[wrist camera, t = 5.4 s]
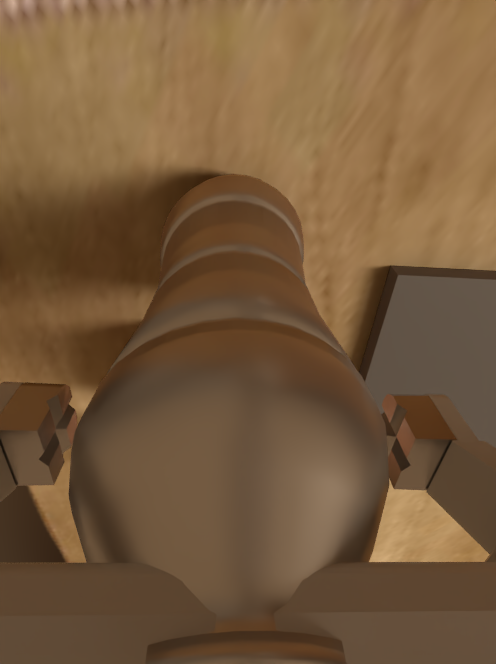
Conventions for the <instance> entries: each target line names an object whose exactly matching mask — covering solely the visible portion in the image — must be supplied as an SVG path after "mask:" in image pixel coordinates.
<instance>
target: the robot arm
mask: <svg viewBox="0 0 496 664" xmlns="http://www.w3.org/2000/svg"><path fill="white" fill-rule="evenodd" d="M71 398H72V394H71V390H70V387H69V386H68V385H66V384H47V383H28V382H25V383H21V382H3V383H1V384H0V502H1V501H2V500H3V499H4V498H5V497H6V496H8V495H9V494H10V493H11V492H12V491H13V490H14V489H16V485H54V484H55V482H56V479H57V477H58V475H59V473H60V470H61V468H62V466H63V464H64V458H63V454H62V453H63V452H65V451H66V450H68V449H69V448H70V447H71V446H72V443H73V439H74V433H75V431H76V429H77V416H76V411H75V409H74V408H72V407H71V406H70V405H69V402H70V400H71ZM382 407H383V409H384V411H385V412H384V413H383V414H381V415H382V418H383V420H384V422H385V425H386V435H387V446H388V467H389V478H390V481H391V483H392V486H393V488H394V489H408V490H427V493H428V494H429V495H430V496H431V497H432V498H433V499H434V500H435V501H436V502H437V503H438V504H439V505H440V506H441V507H442V508H443V509H444V510H445V511H446V512H447V513H448V514H449V515H450V516H451V517H452V518H453V519H454V520H455V521H456V522H457V523H458V524H460V525H461V526H462V527H463V528H464V529H465V530H466V531H467V532H468V533H469V534H470V535H471V536H472V537H473V538H474V539H475V540H476V541H477V542H478V543H479V544H480V545H481V546H482V547H483V548H484V549H485V550H486V551H487V552H488V553H489V554H490V555H489V556H488V558H487V559H486V560H485V562H339V563H335V564H332V565H330V566H327V567H324V568H322V569H320V570H318V571H316V572H315V573H313V574H312V575H310V576H309V577H308V578H306V579H304V580H302V582H301V583H300V585H299V586H298V588H297V589H296V591H295V592H294V594H293V595H292V597H291V598H290V600H289V601H288V603H287V604H286V605H284V606H283V607H282V608H280V609H279V610H277V611H276V612H275V613H274V620H275V625H276V630H279V631H283V632H296V633H306V634H312V635H317V636H323V637H329V638H333V639H336V640H339V641H342V645H343V649H344V654H345V659H346V663H347V664H496V448H495V447H493V446H492V445H490V444H489V443H487V442H485V441H479V440H478V439H477V437H476V436H475V435H474V433H473V432H472V430H471V429H470V427H469V426H468V425H467V423H466V422H465V420H464V419H463V417H462V416H461V415H460V413H459V412H458V410H457V409H456V407H455V406H454V405H453V403H452V402H451V400H450V399H449V398H448V397H447V396H445V395H437V394H425V395H414V394H387V395H386V397H385V398H384V400H383V403H382ZM216 616H217V615H216V614H215V613H213V612H211V611H209V610H208V609H207V608H206V607H205V606H204V605H203V604H202V602H201V601H200V600H199V599H198V598H197V597H196V596H195V595H194V594H193V593H192V592H191V591H190V590H189V589H188V588H187V587H186V586H185V585H184V583H183V581H181V580H180V579H178V578H176V577H175V576H173V575H171V574H169V573H167V572H165V571H163V570H160V569H157V568H155V567H153V566H150V565H147V564H141V563H0V664H145V661H146V653H147V646H148V645H150V644H154V643H158V642H161V641H165V640H169V639H175V638H181V637H187V636H193V635H199V634H207V633H209V632H212V631H215V624H216Z"/></svg>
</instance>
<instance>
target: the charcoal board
mask: <svg viewBox="0 0 496 664" xmlns="http://www.w3.org/2000/svg"><path fill="white" fill-rule="evenodd" d="M359 373H360V374H361V376H362V378H363V380H364V382H365V384H366V386H367V388H368V389H369V391H370V393H371V395H372V397H373V398H374V400H375V402H376V404H377V406H378V408H379V411H380V413H381V414H383V413H384V412H385V411H384V409H383V407H382V403H383V400H384V398H385V397H386V395H387V394H414V395H425V394H437V395H445V396H447V397H448V398H449V399H450V400H451V402H452V403H453V405H454V406H455V407H456V409H457V410H458V412H459V413H460V415H461V416H462V417H463V419H464V420H465V422H466V423H467V425H468V426H469V427H470V429H471V430H472V432H473V433H474V435H475V436H476V437H477V439H478V440H479V441H485V442H487V443H489V444H490V445H492V446H493V447H495V448H496V271H484V270H464V269H445V268H425V267H405V266H390V269H389V273H388V276H387V279H386V283H385V286H384V290H383V293H382V296H381V300H380V303H379V307H378V310H377V313H376V317H375V320H374V324H373V327H372V330H371V334H370V337H369V341H368V344H367V347H366V351H365V354H364V358H363V361H362V364H361V368H360V371H359Z"/></svg>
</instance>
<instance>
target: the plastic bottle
mask: <svg viewBox="0 0 496 664" xmlns="http://www.w3.org/2000/svg"><path fill="white" fill-rule="evenodd" d="M303 259H304V242H303V232H302V227H301V222H300V220H299V218H298V215H297V213H296V211H295V209H294V208H293V206H292V205H291V203H290V202H289V201H288V199H287V198H286V197H285V196H284V195H282V194H281V193H280V192H279V191H278V190H277V189H275V188H274V187H272V186H270V185H269V184H267V183H265V182H263V181H262V180H260V179H257V178H254V177H250V176H247V175H237V174H231V175H221V176H218V177H214V178H211V179H208V180H206V181H204V182H203V183H201V184H199V185H197V186H195V187H194V188H192V189H191V190H189V191H188V192H187V193H186V194H185V195H184V196H183V197H181V198H180V199H179V200H178V202H177V203H176V204H175V206H174V207H173V208H172V210H171V211H170V213H169V215H168V217H167V219H166V221H165V224H164V228H163V232H162V236H161V248H160V263H161V272H160V278H159V284H158V289H157V291H156V293H155V295H154V297H153V300H152V302H151V304H150V306H149V308H148V310H147V312H146V314H145V317H144V319H143V321H142V322H141V324H140V325H139V327H138V328H137V330H136V331H135V333H134V334H133V336H132V337H131V338H130V340H129V341H128V343H127V344H126V346H125V347H124V349H123V350H122V352H121V353H120V355H119V356H118V358H117V359H116V361H115V362H114V364H113V365H112V367H111V368H110V370H109V371H108V373H107V375H106V376H105V377H104V379H103V380H102V381H101V382H100V384H99V386H98V388H97V390H96V392H95V394H94V396H93V398H92V400H91V401H90V403H89V405H88V407H87V409H86V410H85V412H84V414H83V416H82V418H81V420H80V422H79V424H78V427H77V429H76V431H75V433H74V439H73V445H72V452H71V465H70V482H69V500H70V505H71V510H72V515H73V518H74V522H75V525H76V528H77V532H78V535H79V538H80V542H81V545H82V548H83V552H84V555H85V558H86V562H87V563H141V564H147V565H150V566H153V567H155V568H157V569H160V570H163V571H165V572H167V573H169V574H171V575H173V576H175V577H176V578H178V579H180V580H181V581H183V583H184V585H185V586H186V587H187V588H188V589H189V590H190V591H191V592H192V593H193V594H194V595H195V596H196V597H197V598H198V599H199V600H200V601H201V602H202V604H203V605H204V606H205V607H206V608H207V609H208V610H209V611H211V612H213V613H215V614H216V615H217V616H216V624H215V631H212V632H209V633H207V634H199V635H193V636H187V637H181V638H175V639H169V640H165V641H161V642H158V643H154V644H150V645H148V646H147V653H146V661H145V664H347V663H346V659H345V654H344V649H343V645H342V641H339V640H336V639H333V638H329V637H323V636H317V635H312V634H306V633H296V632H283V631H279V630H276V625H275V620H274V613H275V612H276V611H277V610H279V609H280V608H282V607H283V606H284V605H286V604H287V603H288V601H289V600H290V598H291V597H292V595H293V594H294V592H295V591H296V589H297V588H298V586H299V585H300V583H301V582H302V580H304V579H306V578H308V577H309V576H310V575H312V574H313V573H315V572H316V571H318V570H320V569H322V568H324V567H327V566H330V565H332V564H335V563H339V562H369V560H370V557H371V555H372V552H373V549H374V545H375V541H376V537H377V533H378V529H379V525H380V521H381V517H382V513H383V509H384V505H385V501H386V497H387V492H388V488H389V467H388V446H387V435H386V425H385V422H384V420H383V418H382V415H381V413H380V411H379V408H378V406H377V404H376V402H375V400H374V398H373V397H372V395H371V393H370V391H369V389H368V388H367V386H366V384H365V382H364V380H363V378H362V376H361V374H360V373H359V372H358V371H357V370H356V368H355V366H354V365H353V363H352V362H351V360H350V359H349V357H348V356H347V354H346V353H345V351H344V350H343V348H342V347H341V345H340V344H339V343H338V341H337V340H336V338H335V337H334V335H333V334H332V332H331V331H330V329H329V328H328V326H327V325H326V323H325V322H324V320H323V319H322V318H321V316H320V315H319V312H318V310H317V308H316V306H315V304H314V301H313V299H312V297H311V295H310V293H309V291H308V288H307V286H306V284H305V277H304V271H303Z"/></svg>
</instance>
